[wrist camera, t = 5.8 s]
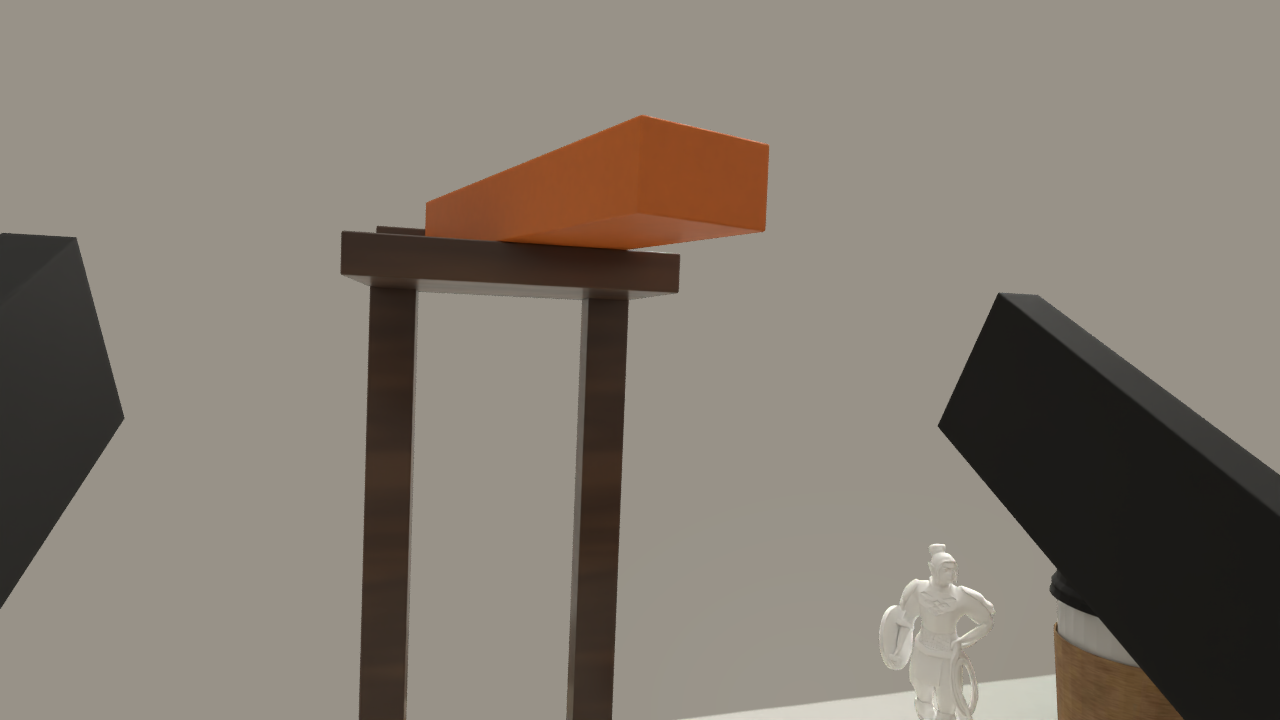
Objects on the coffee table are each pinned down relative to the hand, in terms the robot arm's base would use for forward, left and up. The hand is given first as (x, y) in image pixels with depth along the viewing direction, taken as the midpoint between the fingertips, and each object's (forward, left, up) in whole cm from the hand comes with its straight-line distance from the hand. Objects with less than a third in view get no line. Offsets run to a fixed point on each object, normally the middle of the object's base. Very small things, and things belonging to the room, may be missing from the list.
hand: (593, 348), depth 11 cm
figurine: (+37, +10, -27) cm, 47 cm away
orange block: (+10, +14, +3) cm, 17 cm away
